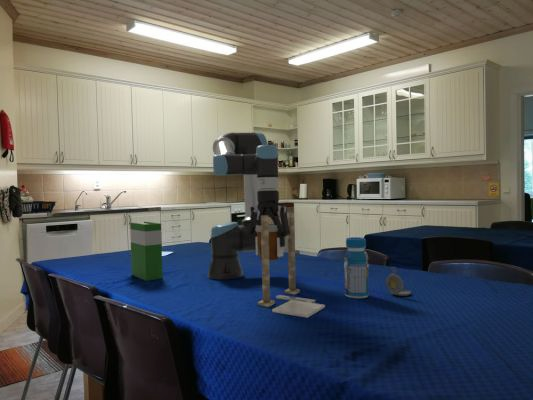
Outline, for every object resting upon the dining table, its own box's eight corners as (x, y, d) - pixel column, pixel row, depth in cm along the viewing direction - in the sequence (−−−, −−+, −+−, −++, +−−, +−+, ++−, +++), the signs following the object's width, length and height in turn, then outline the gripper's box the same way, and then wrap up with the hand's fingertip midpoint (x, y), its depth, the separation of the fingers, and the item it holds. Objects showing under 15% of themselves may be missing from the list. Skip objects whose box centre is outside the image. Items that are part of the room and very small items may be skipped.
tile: (272, 311, 126) (272, 309, 126) (291, 302, 136) (291, 300, 136) (307, 317, 119) (307, 314, 119) (324, 307, 129) (324, 304, 129)
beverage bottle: (355, 300, 137) (354, 240, 136) (339, 294, 144) (338, 238, 144) (374, 296, 141) (373, 238, 140) (358, 291, 148) (357, 236, 148)
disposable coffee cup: (280, 261, 137) (279, 225, 137) (252, 261, 139) (251, 225, 139) (285, 257, 147) (284, 223, 146) (259, 257, 149) (258, 223, 148)
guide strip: (273, 299, 139) (273, 297, 139) (279, 297, 143) (279, 294, 143) (310, 305, 132) (310, 302, 132) (315, 302, 135) (315, 299, 135)
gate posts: (258, 305, 133) (255, 215, 133) (290, 290, 152) (288, 212, 151) (268, 306, 131) (266, 216, 131) (299, 292, 150) (298, 212, 149)
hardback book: (131, 274, 189) (130, 222, 188) (147, 272, 193) (145, 221, 193) (146, 280, 175) (144, 224, 174) (162, 278, 179) (161, 223, 179)
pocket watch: (410, 292, 145) (410, 264, 145) (410, 298, 138) (410, 268, 137) (386, 291, 148) (386, 263, 148) (385, 297, 140) (384, 267, 140)
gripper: (237, 190, 145) (238, 255, 145) (288, 189, 134) (290, 259, 134) (249, 190, 151) (251, 252, 152) (299, 189, 140) (301, 255, 140)
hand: (269, 255), depth 143 cm, fingers closed on disposable coffee cup, 8 cm apart
